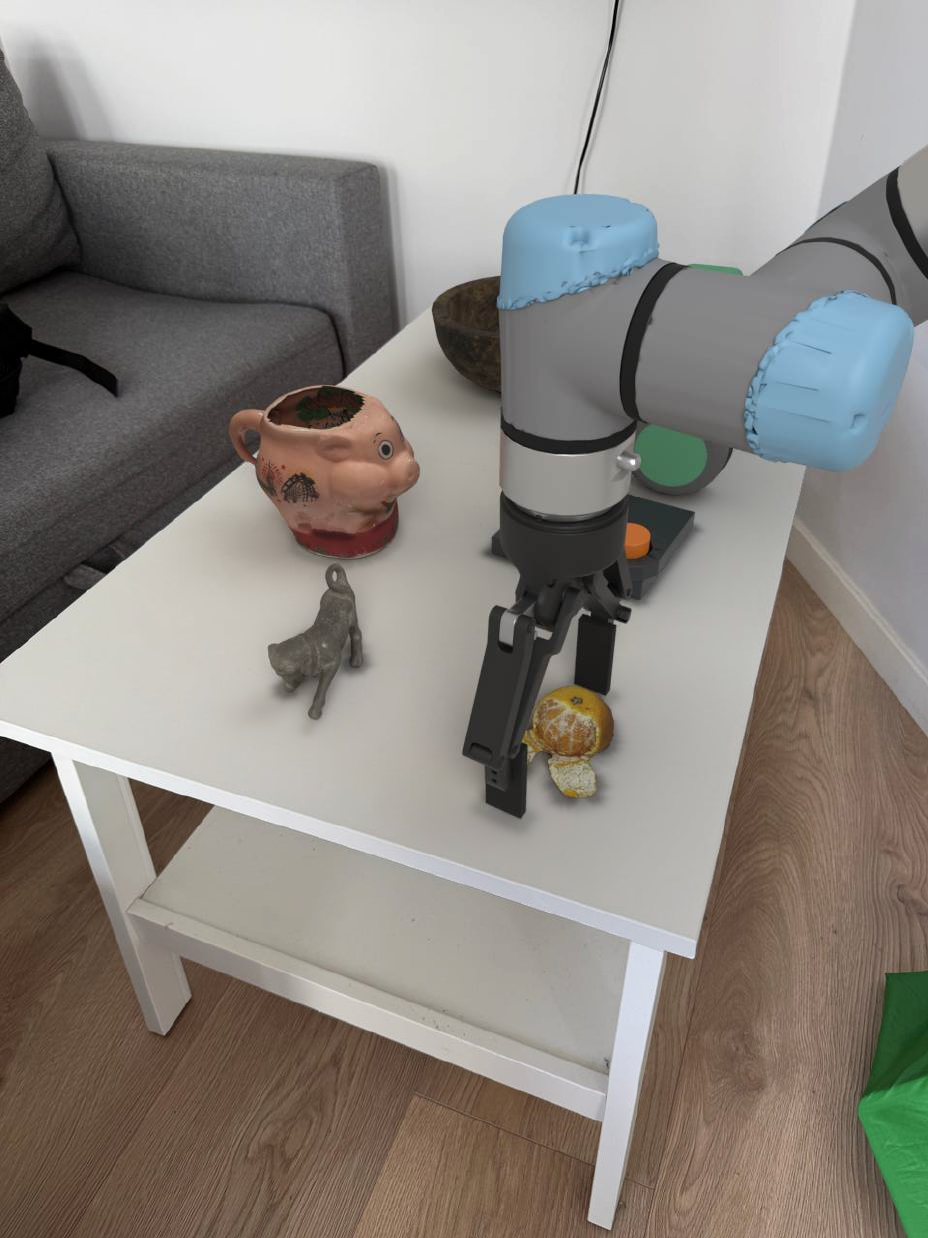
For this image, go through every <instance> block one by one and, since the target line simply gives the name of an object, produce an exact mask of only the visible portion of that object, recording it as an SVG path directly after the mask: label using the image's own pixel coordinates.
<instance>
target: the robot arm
mask: <svg viewBox="0 0 928 1238" xmlns="http://www.w3.org/2000/svg"><path fill="white" fill-rule="evenodd" d="M657 221H658V220H657V219H656V217H655V215H654V213H653V211H652V210H651V209H650V208H648V207H647V206H645V205H644V204H643V203H638V202H631V200H629V199H628V198H625V197H622V196H615V195H609V194H600V193H599V194H598V193H575V194H574V193H573V194H559V195H555V196H549V197H544V198H540V199H537V200H533V201H532V202H530V203H528V204H526V205H524V206H521V207H519V208H518V210H516V211H514V213H513V214H512V215H511V217H510V218H509V219H508V220H507V221H506V224H505V226H504V229H503V232H502V233H503V234H502V245H501V246H502V247H501V263H500V264H501V265H500V276H501V278H500V295H499V296H498V297H497V307H498V309H499V327H500V350H501V392H500V393H501V394H500V395H501V405H500V408H499V410H500V418H499V419H500V421H499V471H498V472H499V473H498V475H499V476H498V477H499V478H498V485H499V487H500V489H501V491H500V495H499V529H500V543H501V546H502V549H503V551H504V553H505V554H506V555H507V557H508V558H507V559H509V560H510V562H511V563H512V565H513V566H514V567H515V568H516V570H517V571H518V573H519V578H518V581H517V585H516V587H515V592H514V594H515V599H514V601H515V603H514V604H513V605H512V606H511V607H509V608H507V607H504V606H501V605H498V604H496V605H494V606H493V607H492V608H491V610H490V612H489V615H488V623H487V624H488V625H487V642H486V646H485V652H484V656H483V660H482V664H481V668H480V671H479V672H480V673H479V677H478V681H477V686H476V690H475V694H474V700H473V703H472V707H471V711H470V715H469V720H468V724H467V729H466V732H465V738H464V741H463V745H462V752H461V754H462V757H464V758H466V759H469V760H472V761H474V762H476V763H478V764H481V765H483V766H484V781H485V782H484V783H485V785H484V787H485V788H484V789H485V791H484V792H485V804H487V805H489V806H490V807H491V806H492V807H493V808H496V809H498V810H499V811H502V812H504V813H507V814H508V815H511V816H513V817H515V818H518V819H520V820H521V819H522V818H523V816H524V815H525V814H526V812H527V788H528V786H527V784H528V765H527V755H528V745H527V744H525V743H522V740H523V737H524V734H525V731H526V730H527V728H528V725H529V722H530V719H531V717H532V715H533V714H532V713H533V712H534V711H533V710H534V707H535V704H536V702H537V699H538V696H539V693H540V690H541V687H542V684H543V681H544V678H545V675H546V673H547V669H548V666H549V664H550V661H551V658H552V657H553V656H557V655H558V654H560V653H561V652H562V649H563V648H564V647H563V646H564V644H565V640H566V638H567V636H568V632H569V629H570V626H571V623H572V620H573V619H574V617H576V616H577V615H578V613H579V612H580V611H581V610H582V608H583V610H585V611H586V612H589V613H590V615H589V614H586V613H581V615H580V616H579V618H578V620H577V635H576V646H575V647H576V648H575V649H576V650H575V663H574V676H573V677H574V679H573V684H574V685H575V686H578V687H583V688H585V689H587V690H589V691H591V692H594V693H596V694H600V695H602V696H605V697H606V696H607V695H608V694H609V692H610V691H611V683H612V674H613V664H614V657H615V656H614V654H615V646H616V635H617V624H616V623H615V621H616V622H619V623H621V624H625V625H626V624H628V623H629V621H630V618H631V616H632V611H633V610H632V608H631V607H629V606H625V605H622V604H621V600H623V601H624V600H625V601H628V600H629V599H630V598H631V597H630V596H631V594H632V581H631V577H630V572H629V567H628V562H627V557H626V552H625V547H624V546H625V539H626V530H627V520H628V511H629V497H628V494H629V493H628V492H629V490H630V487H631V481H632V473H631V472H632V471H635V470H637V469H638V468H639V467H640V463H641V457H640V455H639V454H636V453H633V451H634V441H635V434H636V428H637V422H638V421H640V422H643V423H647V424H653V425H657V426H660V427H664V428H667V429H670V430H674V431H677V432H680V433H684V434H687V435H690V436H694V437H697V438H700V439H704V440H707V441H711V442H714V443H717V444H721V445H724V446H727V447H731V448H733V450H738V451H741V452H745V453H748V454H751V455H755V456H758V457H759V458H761V459H762V460H765V461H767V462H772V463H774V464H776V463H782V464H789V463H790V464H794V465H800V466H806V467H809V468H810V467H811V468H815V469H820V470H825V471H829V472H834V473H843V472H848V471H851V470H854V469H856V468H858V467H859V466H861V465H862V464H863V463H864V462H866V460H868V458H869V457H870V456H871V455H872V454H873V452H874V450H875V448H876V447H877V445H878V443H879V440H880V439H881V436H882V434H883V431H884V429H886V426H887V425H888V423H889V421H890V418H891V416H892V414H893V411H894V409H895V406H896V404H897V401H898V398H899V395H900V393H901V390H902V386H903V383H904V381H905V377H906V374H907V371H908V367H909V364H910V361H911V356H912V351H913V347H914V339H915V328H916V327H918V326H919V325H921V324H923V323H925V322H926V321H928V144H926V145H925V146H923V147H922V148H921V149H919V150H918V151H916V152H915V153H913V154H912V155H911V156H909V157H907V159H905V160H904V161H903V162H902V163H901V164H900V165H899V166H897V167H896V168H894V169H893V170H891V171H890V172H888V173H886V174H885V175H884V176H882V177H879V178H878V179H877V180H876V181H874V182H873V183H872V184H870V185H869V186H868V187H866V188H864V189H863V190H862V191H860V192H859V193H858V194H856V195H855V196H853V197H851V198H850V199H849V200H846V201H843V202H841V203H839V204H838V205H836V206H835V207H834V208H832V209H831V210H829V211H828V212H826V213H825V214H824V215H822V216H821V217H820V218H819V219H817V220H816V221H815V222H813V223H812V224H811V225H810V226H809V227H807V228H806V229H805V231H804V232H803V234H801V235H800V236H799V237H798V238H796V239H795V240H794V241H793V242H791V243H790V244H788V246H787V247H785V248H784V249H782V250H781V251H779V252H777V253H776V254H775V255H774V256H773V257H772V258H771V259H770V260H768V261H766V262H765V263H764V264H763V265H761V266H760V267H759V268H758V269H756V270H755V271H753V272H752V273H751V274H750V275H744V274H743V275H737V274H731V273H724V272H717V271H710V270H703V269H696V268H692V267H691V266H687V265H688V264H681V263H678V262H674V261H670V260H666V259H662V258H660V257H659V255H660V252H659V248H660V246H661V245H660V243H659V242H658V239H659V238H658V237H659V236H658V222H657ZM536 628H538V629H540V630H543V631H546V632H548V633H551V635H550V637H549V639H546V638H544V637H541V636H538V634H539V631H538V630H536Z"/></svg>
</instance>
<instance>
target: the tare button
mask: <svg viewBox="0 0 928 1238" xmlns="http://www.w3.org/2000/svg"><path fill="white" fill-rule="evenodd" d="M649 543H650V533H649V531H648V530H647V529H646V528H645V527H643V526H641V525H638V524H634V523H627V530H626V539H625V546H624V547H625V552H626V557H627V559H638V558H641V557H643V556H645V555H646V554H647V553H648V551H649Z"/></svg>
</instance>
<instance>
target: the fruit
mask: <svg viewBox="0 0 928 1238" xmlns="http://www.w3.org/2000/svg"><path fill="white" fill-rule="evenodd" d="M614 730H615V720H614V718H613V713H612V709H611V707H610V706H609V705H608V704H607V702H606V701H604V699H602V698H601V697H600V696H599V695H598V693H597V692H594V691H591V690H589V689H586V688H583V687H581V686H578V685H575V686H574V685H571V686H563V687H559V688H555V689H554V690H552V691H551V692H548V693H547V694H546V695H545V696H543V697H542V699H540V701H539V702H538V704H537V706H536V707H535V709H534V711H533V714H532V728H530V729H526V731H525V734H524V737H523V740H522V743H525V744H527V745H528V755H527V766H528V765H530V764H531V762H532V761H533V759H534V757H535V755H536V754H537V753H540V752H544V753H546V754H550V755H551V758H549V759H547V763H548V768H549V772H550V775H551V776H550V777H551V779H552V780H553V781H554V783H555V784H556V786H557V788H558V790H559V791H561V793H562V795H564V796H567V797H570V798H576V799H577V798H589V797H591V796H594V795H595V793H596V792H597V787H598V786H597V785H598V780H597V775H596V773H595V771H594V768H593V767H592V766H591V757H593V756H594V755H596V754H599V753H601V752H603V751H605V750H607V749H608V748H609V747H610V745H611V742H612V741H613V738H614V736H615V735H614Z"/></svg>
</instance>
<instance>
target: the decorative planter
mask: <svg viewBox="0 0 928 1238" xmlns="http://www.w3.org/2000/svg"><path fill="white" fill-rule="evenodd" d="M228 427H229V428H228V431H227V433H228V436H229V438H230V440H231V443H232V445H233V447H234V449H235V451H236V452H237V455H238V456H239V457H240V458H241V459H242V460H243V461H244V462H246V463H250V464H251V465H253V466H254V471H255V476H256V480H257V482H258V485H259V486H260V488H261V490H262V491H263V492H264V494H265V495H266V497H267V498H268V499H269V500H270V501H271V502H272V503H273V505H274V506H275V508H276V509H277V510H278V512H279V514H280V515H281V517H282V518H283V520H284V521H285V523H286V526H288V528H289V530H290V531H291V532H292V534H293V536H294V538H295V541H296V543H297V544H298V545H299V546H301V547H302V548H303V549H305V550H307V551H309V552H311V553H313V554H316V555H318V556H322V557H329V558H335V559H341V560H342V559H344V560H352V559H358V558H359V559H360V558H364V557H367V556H369V555H372V554H376V553H377V552H378V551H380V550H382V549H383V548H384V547H386V546H387V545H389V544H390V543H391V542H392V540H393V539H394V537H395V536H396V534H397V532H398V529H399V521H400V513H399V511H400V510H399V504H398V503H399V502H398V497H400V496H402V495H403V494H405V493H406V492H408V491H409V490H411V489H412V488H413V487H414V486H415V485H416V484H417V483H418V481H419V478H420V475H421V466H420V464H419V462H418V461H417V460H416V459H415V452H414V449H413V446H412V445H411V443H410V442H409V440H408V439H407V438H406V437H405V435H404V433H403V431H402V428H401V426H400V424H399V423H398V420H397V419H396V418H395V417H394V416H393V415H392V414H391V413H390V411H389V410H388V409H387V408H386V406H385V405H384V404H383V402H382V401H381V400H379V398H377V397H375V396H372V395H370V394H366V393H364V392H361V391H358V390H355V389H353V388H349V387H345V386H340V385H333V384H332V385H331V384H330V385H329V384H317V385H310V386H306V387H302V388H299V389H295V390H293V391H290V392H287V393H286V394H283V395H282V396H279V397H278V398H277V399H275V400H274V401H273V402H271V404H270V405H268V407H267V408H266V409H265V410H262V409H255V408H250V409H242V410H240V411H238V412H237V413H235V414H233V416H232V417H231V419H230V423H229V426H228ZM250 430H251V431H254V432H256V433H257V434H259V436H260V445H259V448H258V452H257V455H256V457H255V456H254V455H253V454H252V453H251V451H250V449H249V448H248V446H247V444H246V432H247V431H250Z"/></svg>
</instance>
